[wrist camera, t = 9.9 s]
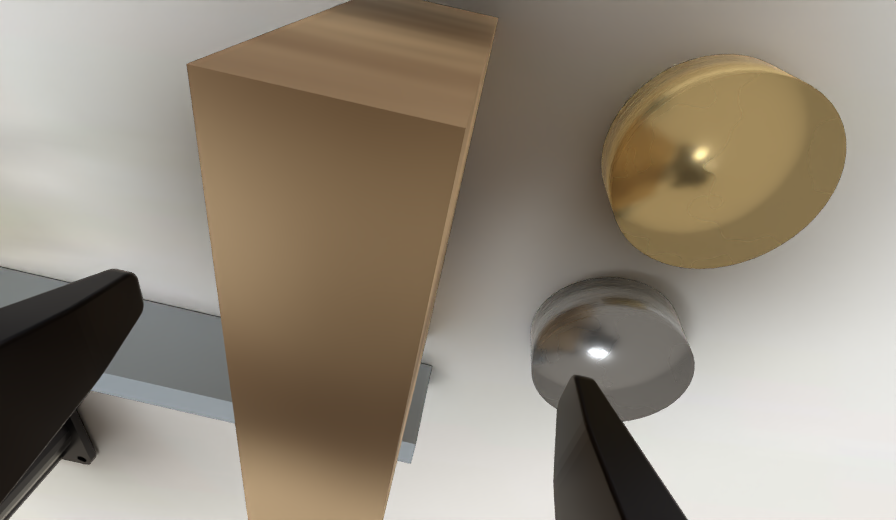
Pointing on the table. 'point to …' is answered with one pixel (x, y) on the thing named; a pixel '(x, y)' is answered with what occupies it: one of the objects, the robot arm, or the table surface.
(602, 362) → the gunmetal token
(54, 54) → the table surface
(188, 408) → the cubby
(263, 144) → the wooden plank block
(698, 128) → the brass token
